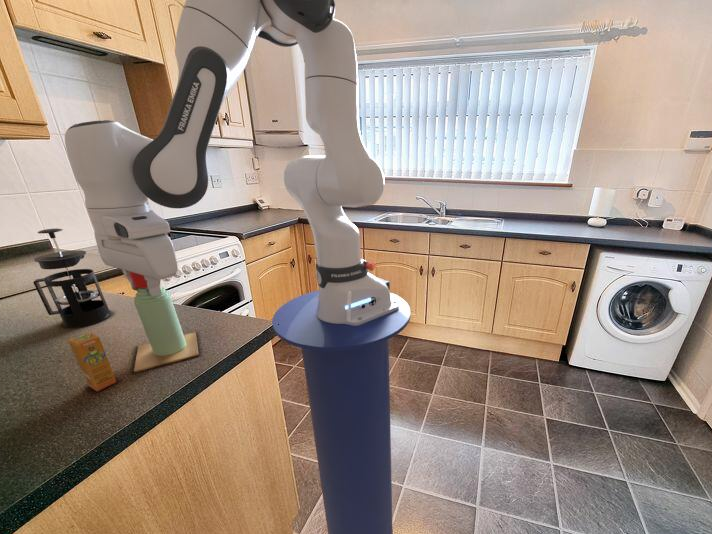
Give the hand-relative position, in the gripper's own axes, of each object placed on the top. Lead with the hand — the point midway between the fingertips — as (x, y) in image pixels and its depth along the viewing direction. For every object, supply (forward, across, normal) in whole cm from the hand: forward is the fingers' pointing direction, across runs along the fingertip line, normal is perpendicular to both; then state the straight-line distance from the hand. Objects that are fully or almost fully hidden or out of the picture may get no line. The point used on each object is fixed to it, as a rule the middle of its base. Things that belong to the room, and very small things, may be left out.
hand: (147, 292), depth 66 cm
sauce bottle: (+13, 0, +1) cm, 13 cm away
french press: (+14, -34, -1) cm, 37 cm away
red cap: (-2, 0, 0) cm, 2 cm away
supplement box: (+14, +1, -12) cm, 18 cm away
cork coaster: (+14, 0, 0) cm, 14 cm away
